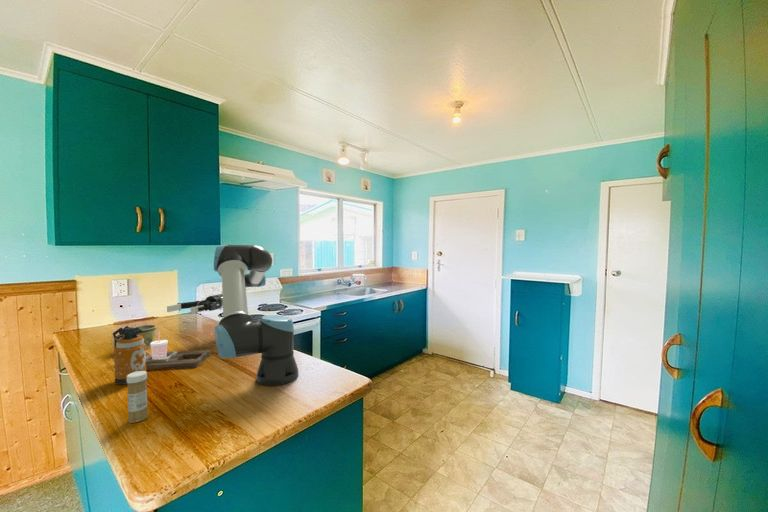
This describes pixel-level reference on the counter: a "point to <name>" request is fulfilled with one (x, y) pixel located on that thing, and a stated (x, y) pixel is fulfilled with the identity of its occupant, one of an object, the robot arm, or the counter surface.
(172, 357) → the divided serving tray
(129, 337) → the canister
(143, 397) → the sprinkles bottle
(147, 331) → the ceramic cup
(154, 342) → the beverage cup
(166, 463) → the counter surface
